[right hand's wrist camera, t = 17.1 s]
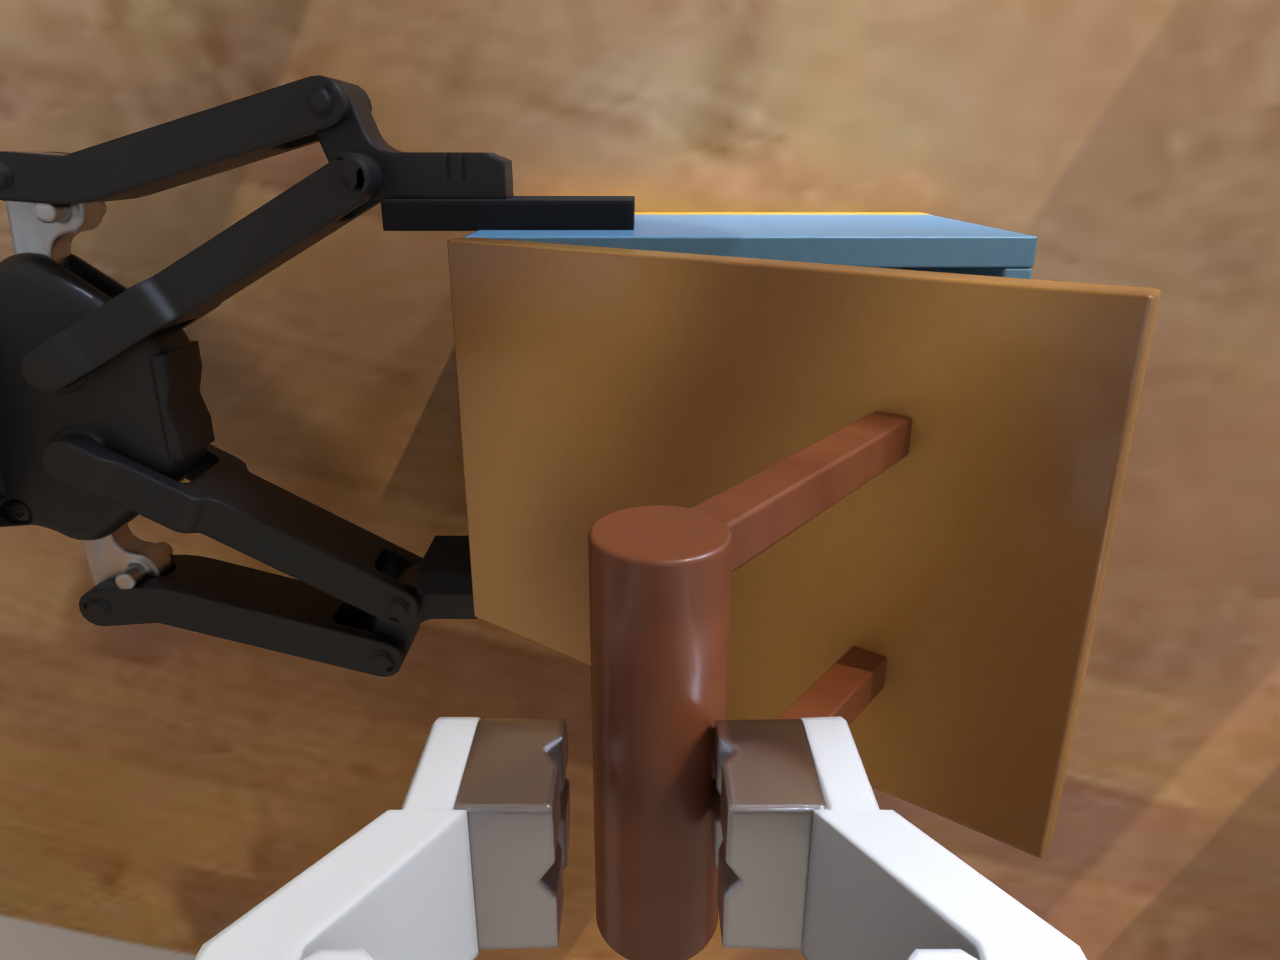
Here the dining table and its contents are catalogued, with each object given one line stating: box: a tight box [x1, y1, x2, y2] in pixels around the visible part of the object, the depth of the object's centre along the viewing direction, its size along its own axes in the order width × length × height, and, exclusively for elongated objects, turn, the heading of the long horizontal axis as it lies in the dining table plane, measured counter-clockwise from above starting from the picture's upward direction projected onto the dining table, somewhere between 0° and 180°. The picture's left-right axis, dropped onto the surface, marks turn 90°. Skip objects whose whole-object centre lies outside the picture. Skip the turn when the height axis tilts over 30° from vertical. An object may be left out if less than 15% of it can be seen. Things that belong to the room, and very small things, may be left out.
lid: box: [447, 237, 1161, 960], centre depth 16 cm, size 14×10×8 cm
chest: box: [464, 212, 1037, 279], centre depth 27 cm, size 14×10×10 cm
